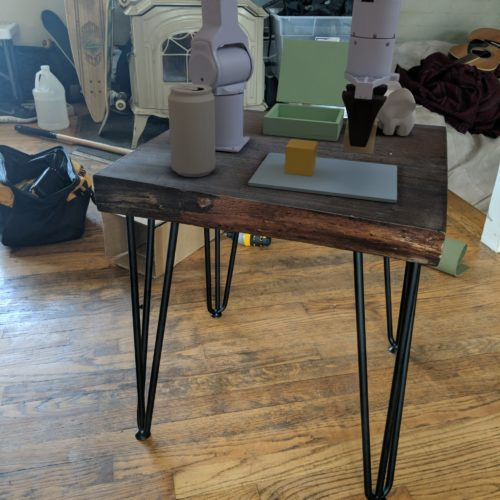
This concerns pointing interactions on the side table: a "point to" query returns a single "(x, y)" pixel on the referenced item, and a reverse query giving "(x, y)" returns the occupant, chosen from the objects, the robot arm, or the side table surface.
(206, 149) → the beverage can
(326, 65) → the lunchbox lid
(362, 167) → the placemat
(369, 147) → the birch block
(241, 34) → the robot arm
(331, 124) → the box
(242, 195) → the side table surface
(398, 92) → the elephant figurine
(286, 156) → the mustard block
